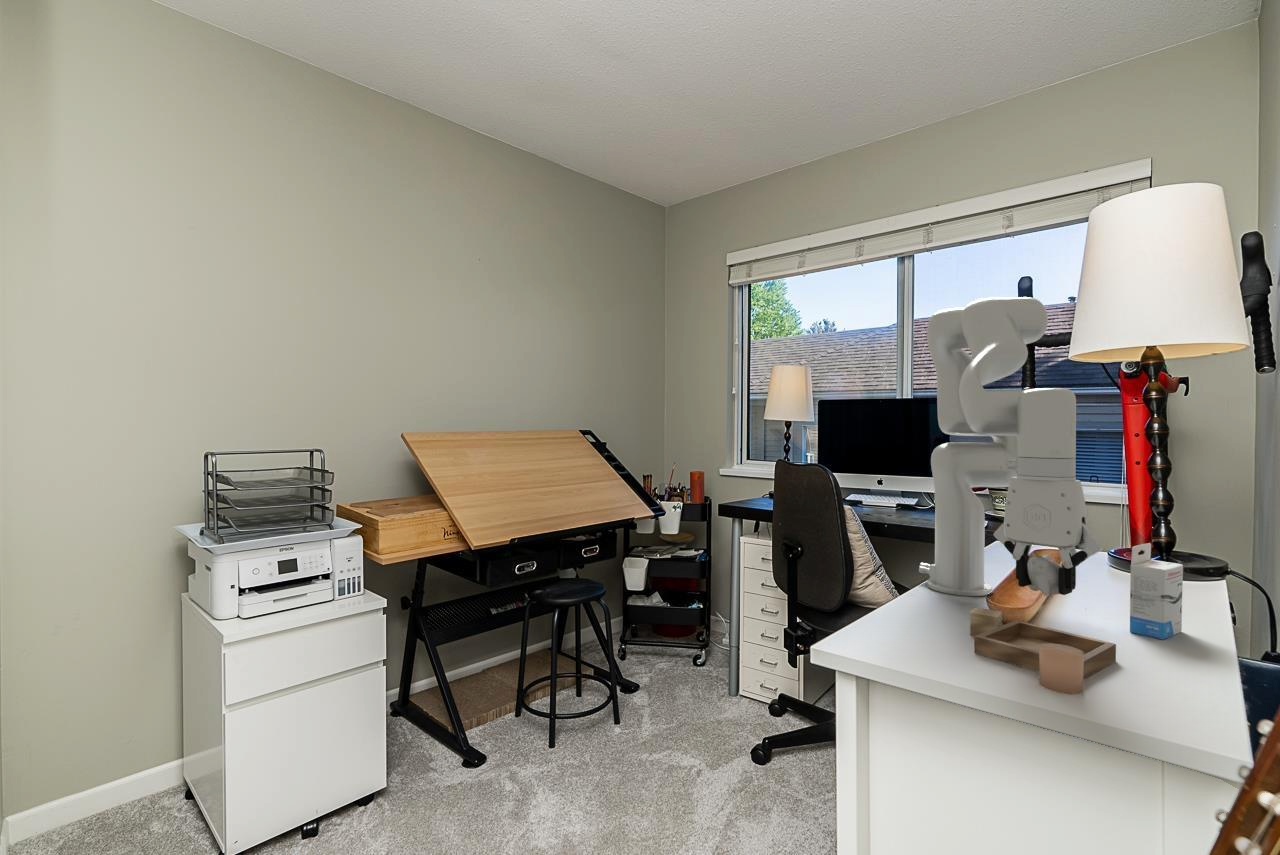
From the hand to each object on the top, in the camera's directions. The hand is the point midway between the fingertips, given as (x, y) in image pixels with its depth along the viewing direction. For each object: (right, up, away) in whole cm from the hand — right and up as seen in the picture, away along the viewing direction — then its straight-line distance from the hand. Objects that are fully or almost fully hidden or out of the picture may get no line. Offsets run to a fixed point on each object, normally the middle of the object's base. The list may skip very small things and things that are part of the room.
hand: (1044, 588), depth 96 cm
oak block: (-3, -11, +10) cm, 15 cm away
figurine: (0, -1, 0) cm, 1 cm away
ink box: (+27, -11, +12) cm, 32 cm away
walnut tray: (0, -11, 0) cm, 11 cm away
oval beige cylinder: (-5, -11, -11) cm, 16 cm away
